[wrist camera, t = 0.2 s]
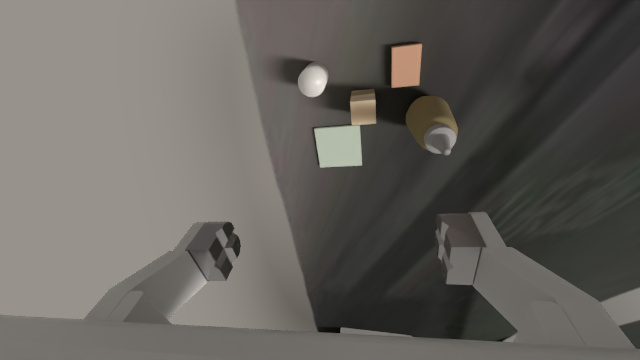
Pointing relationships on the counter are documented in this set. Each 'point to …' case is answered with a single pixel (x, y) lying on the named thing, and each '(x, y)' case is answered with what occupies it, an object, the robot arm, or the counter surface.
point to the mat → (339, 145)
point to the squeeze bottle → (432, 124)
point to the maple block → (363, 107)
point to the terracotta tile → (405, 65)
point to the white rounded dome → (313, 79)
